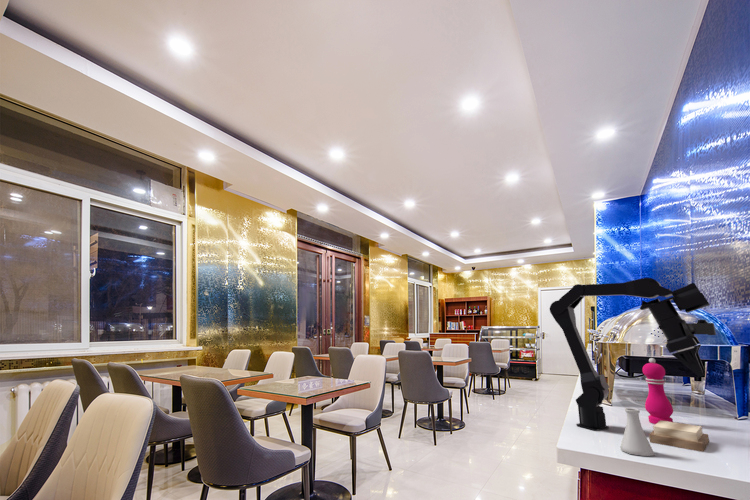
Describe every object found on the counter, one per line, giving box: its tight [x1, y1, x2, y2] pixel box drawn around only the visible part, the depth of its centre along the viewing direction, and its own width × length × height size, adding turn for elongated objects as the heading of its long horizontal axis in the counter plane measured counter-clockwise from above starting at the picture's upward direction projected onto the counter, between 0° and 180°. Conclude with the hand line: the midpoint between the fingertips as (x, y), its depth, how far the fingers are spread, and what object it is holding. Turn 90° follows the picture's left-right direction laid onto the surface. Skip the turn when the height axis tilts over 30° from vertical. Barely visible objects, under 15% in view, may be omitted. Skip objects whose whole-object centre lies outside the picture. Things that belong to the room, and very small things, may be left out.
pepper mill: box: [642, 357, 674, 425], centre depth 123 cm, size 7×7×20 cm
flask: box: [620, 407, 656, 457], centre depth 95 cm, size 7×7×10 cm
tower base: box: [648, 420, 710, 453], centre depth 102 cm, size 11×11×4 cm
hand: (702, 374), depth 101 cm, fingers open, 9 cm apart
